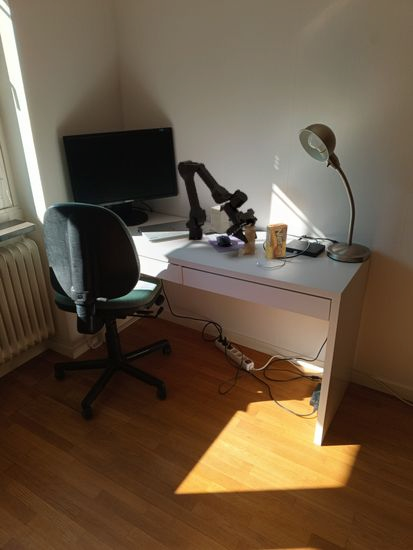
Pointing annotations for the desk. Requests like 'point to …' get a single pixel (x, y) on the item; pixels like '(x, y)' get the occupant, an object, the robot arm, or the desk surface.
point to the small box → (219, 220)
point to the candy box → (276, 240)
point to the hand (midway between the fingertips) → (252, 240)
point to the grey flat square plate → (241, 254)
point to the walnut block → (250, 240)
